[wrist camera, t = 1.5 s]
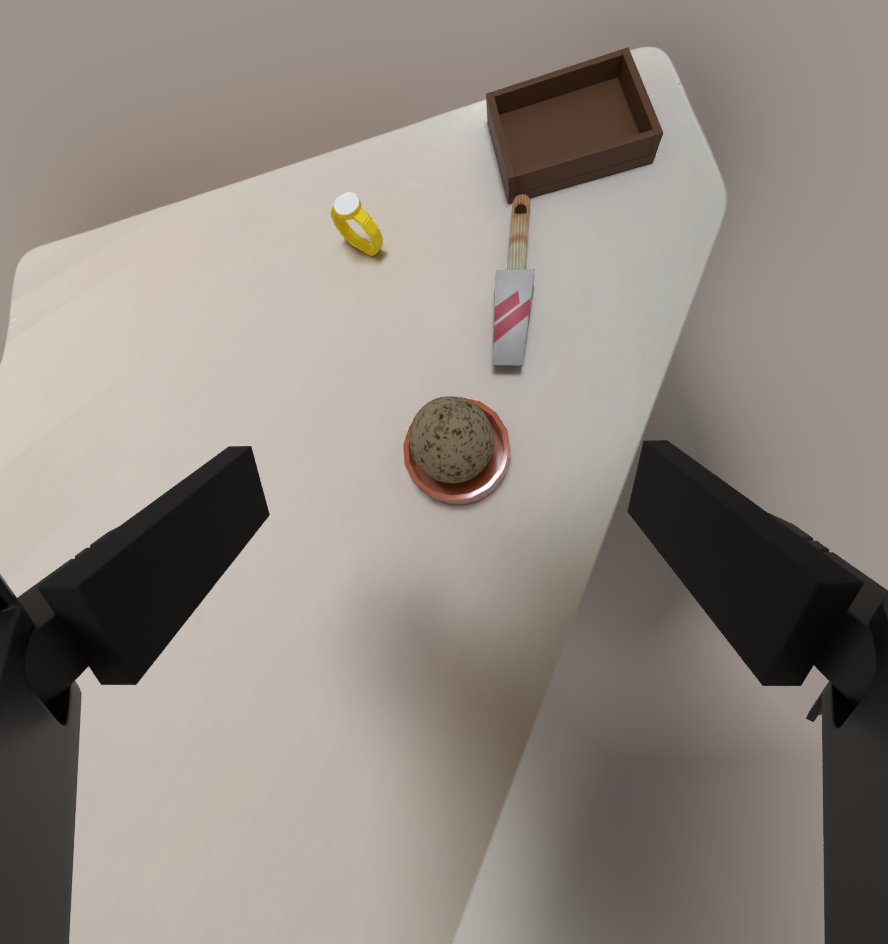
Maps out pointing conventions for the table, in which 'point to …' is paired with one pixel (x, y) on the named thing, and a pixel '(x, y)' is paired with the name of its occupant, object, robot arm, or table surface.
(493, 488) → the shallow dish
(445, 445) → the decorative egg
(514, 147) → the tray
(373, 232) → the watch
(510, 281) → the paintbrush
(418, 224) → the table surface
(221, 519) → the robot arm
